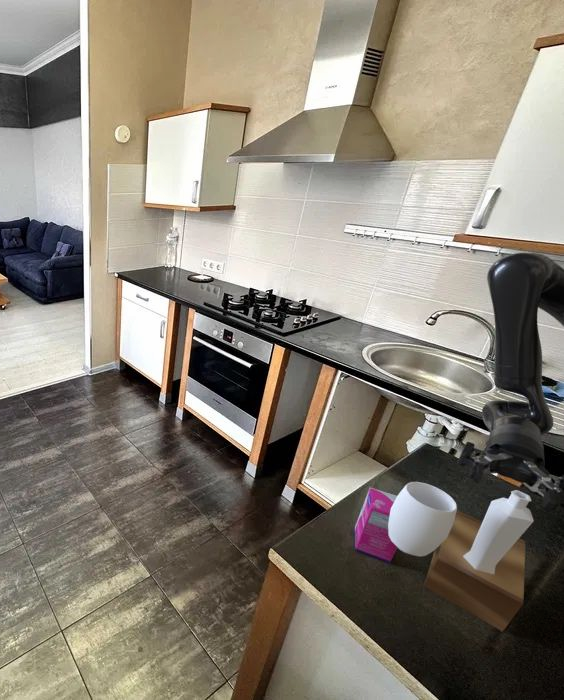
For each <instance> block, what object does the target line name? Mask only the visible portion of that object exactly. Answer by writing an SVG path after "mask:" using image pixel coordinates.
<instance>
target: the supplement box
mask: <svg viewBox="0 0 564 700" xmlns="http://www.w3.org/2000/svg"><path fill="white" fill-rule="evenodd" d="M397 496H398V495H396V494H392V493H389V492H386V491H384V490H383V491H382V490H380V489H376V488H374V487H369V489H368V491H367V494H366V496H365V499H364V502H363V505H362V507H361V510H360V511H359V512H360V513H359V515H358V518H357V521H356V523H355V526H354V530H353V531H354V540H355V541H354V543H355V544H354V545H355V546H354V547H355V548H354V550H355V551H356V552H359V553H362V554H365V555H367V556H370V557H372V558H375V559H377V560H380V561H382V562H385V563H387V564H391V563H392V560H393V558H394V555H395V554H396V551H397V549H398V547H397V546H396V545H395V544H394V543H393V542H392V541H391V539H390V537H389V533H388V522H389V516H390V510H391V507H392V505H393V503H394V501H395V500H396V498H397Z"/></svg>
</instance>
